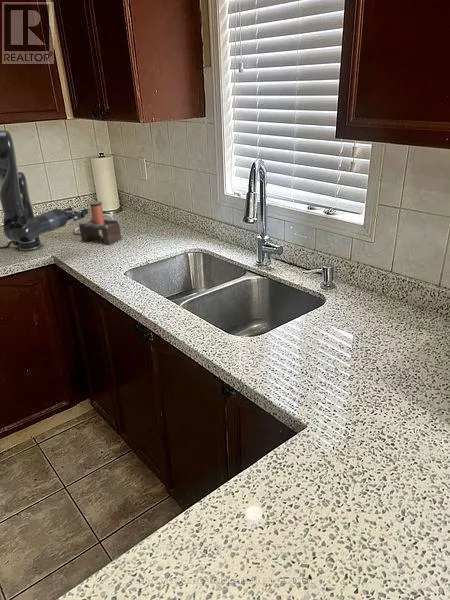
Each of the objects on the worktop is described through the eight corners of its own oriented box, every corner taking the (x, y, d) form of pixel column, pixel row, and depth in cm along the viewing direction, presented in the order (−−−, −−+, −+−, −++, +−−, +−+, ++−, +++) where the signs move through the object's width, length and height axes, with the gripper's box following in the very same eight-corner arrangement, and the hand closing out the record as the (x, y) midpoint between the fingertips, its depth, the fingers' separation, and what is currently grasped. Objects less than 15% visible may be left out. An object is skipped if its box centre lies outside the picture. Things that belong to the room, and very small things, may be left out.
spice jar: (90, 225, 204) (86, 203, 200) (98, 222, 208) (94, 201, 204) (99, 226, 202) (96, 204, 197) (107, 223, 206) (104, 201, 202)
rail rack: (82, 241, 208) (78, 223, 204) (94, 235, 215) (91, 217, 212) (109, 244, 202) (106, 226, 198) (121, 238, 209) (118, 220, 205)
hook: (116, 228, 223) (77, 239, 218) (114, 223, 231) (76, 234, 226) (112, 214, 219) (71, 225, 215) (110, 209, 227) (71, 220, 223)
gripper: (63, 212, 175) (90, 202, 188) (36, 209, 181) (65, 200, 194) (67, 231, 179) (93, 220, 192) (40, 227, 184) (68, 217, 197)
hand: (79, 210), depth 193 cm, fingers open, 8 cm apart
